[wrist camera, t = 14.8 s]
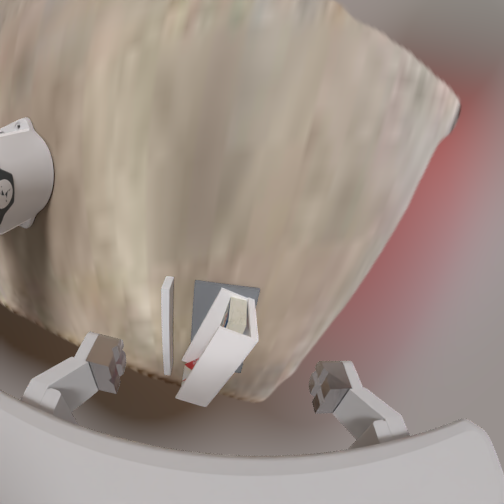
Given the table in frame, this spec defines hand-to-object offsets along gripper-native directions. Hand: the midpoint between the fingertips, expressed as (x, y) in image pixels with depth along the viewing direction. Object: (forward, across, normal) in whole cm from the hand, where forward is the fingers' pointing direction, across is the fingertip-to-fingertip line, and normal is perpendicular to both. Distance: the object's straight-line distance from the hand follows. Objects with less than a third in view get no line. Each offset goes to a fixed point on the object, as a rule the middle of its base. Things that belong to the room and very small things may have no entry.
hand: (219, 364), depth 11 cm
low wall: (+29, +8, +24) cm, 39 cm away
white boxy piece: (+29, 0, +25) cm, 38 cm away
